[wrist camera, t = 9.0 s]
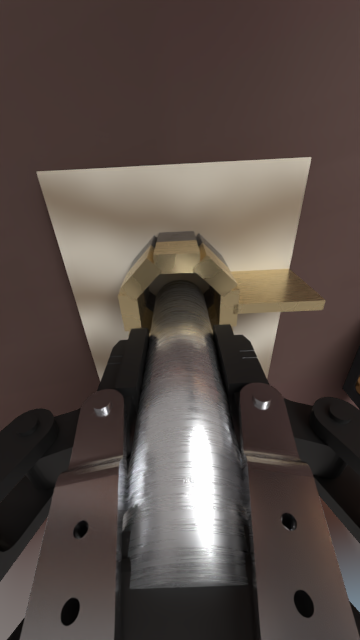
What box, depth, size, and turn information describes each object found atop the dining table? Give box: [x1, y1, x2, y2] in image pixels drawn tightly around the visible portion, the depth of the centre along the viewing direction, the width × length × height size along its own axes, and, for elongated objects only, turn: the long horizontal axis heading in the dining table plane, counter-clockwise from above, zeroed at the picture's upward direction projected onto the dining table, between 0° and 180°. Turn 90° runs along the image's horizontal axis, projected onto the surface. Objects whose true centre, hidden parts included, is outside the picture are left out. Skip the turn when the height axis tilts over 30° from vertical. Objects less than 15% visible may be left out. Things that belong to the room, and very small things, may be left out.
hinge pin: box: [122, 280, 248, 589], centre depth 10 cm, size 3×3×12 cm
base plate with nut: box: [37, 157, 325, 382], centre depth 17 cm, size 18×16×6 cm
